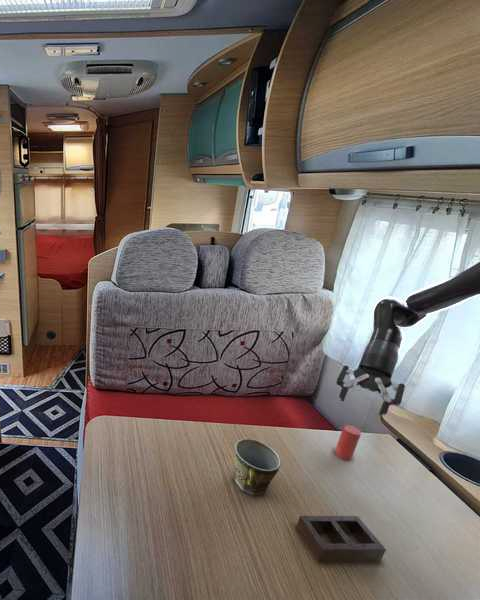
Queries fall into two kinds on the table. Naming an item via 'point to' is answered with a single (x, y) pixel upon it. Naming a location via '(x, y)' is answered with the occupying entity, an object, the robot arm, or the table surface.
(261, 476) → the ceramic cup
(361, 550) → the two-compartment tray
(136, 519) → the table surface
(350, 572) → the table surface
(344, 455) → the red cylinder
